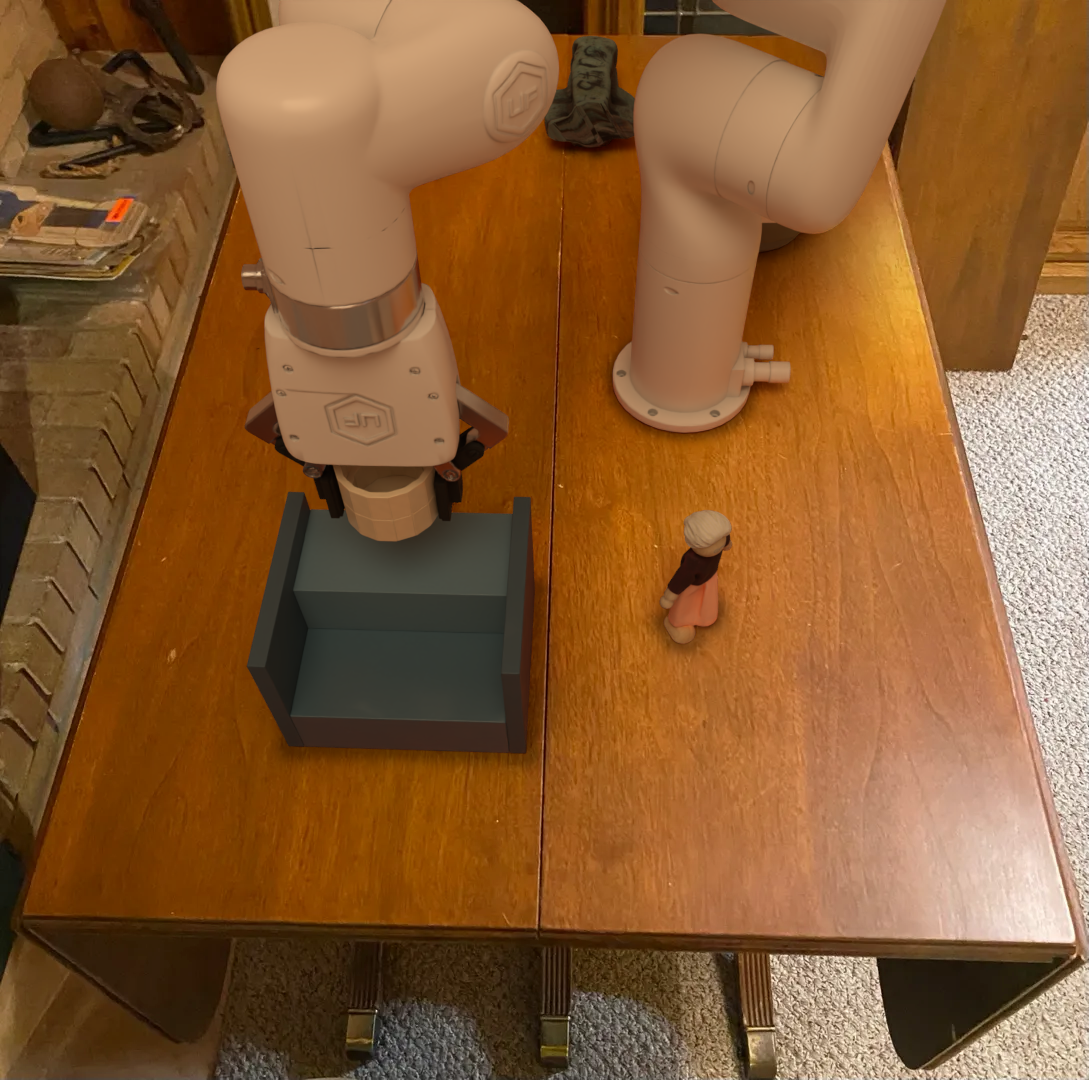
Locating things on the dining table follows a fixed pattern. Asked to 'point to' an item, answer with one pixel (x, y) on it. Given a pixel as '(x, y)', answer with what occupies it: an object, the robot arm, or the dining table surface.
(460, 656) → the step shelf
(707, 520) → the grandmother figurine
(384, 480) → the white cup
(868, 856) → the dining table surface
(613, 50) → the sculpture
